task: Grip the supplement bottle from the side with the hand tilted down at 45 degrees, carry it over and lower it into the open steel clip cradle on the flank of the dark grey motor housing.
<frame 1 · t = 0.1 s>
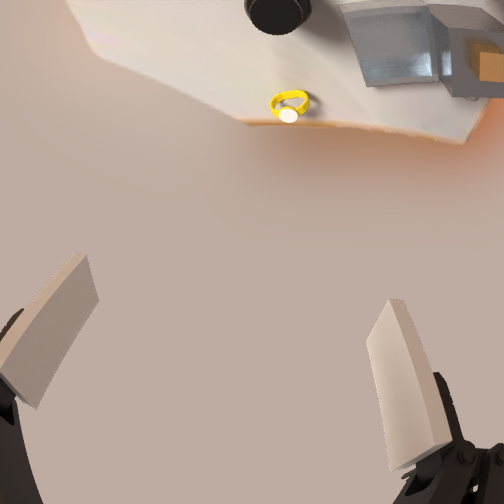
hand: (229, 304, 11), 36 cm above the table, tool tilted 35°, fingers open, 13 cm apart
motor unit: (419, 34, 23), on the table
watch: (290, 93, 39), on the table
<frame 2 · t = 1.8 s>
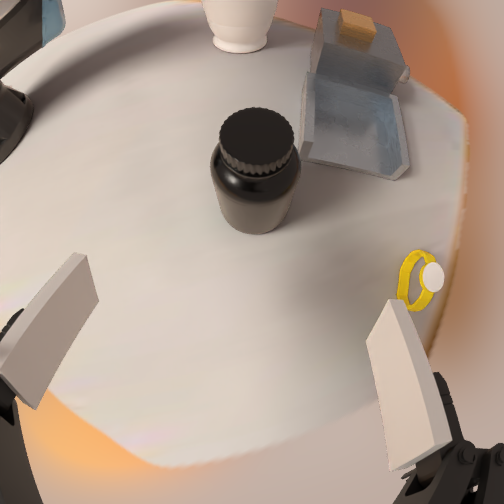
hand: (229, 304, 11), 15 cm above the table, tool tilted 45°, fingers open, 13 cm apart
supplement bottle: (253, 204, 28), on the table
jar: (240, 41, 34), on the table
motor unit: (346, 106, 31), on the table
watch: (402, 283, 27), on the table
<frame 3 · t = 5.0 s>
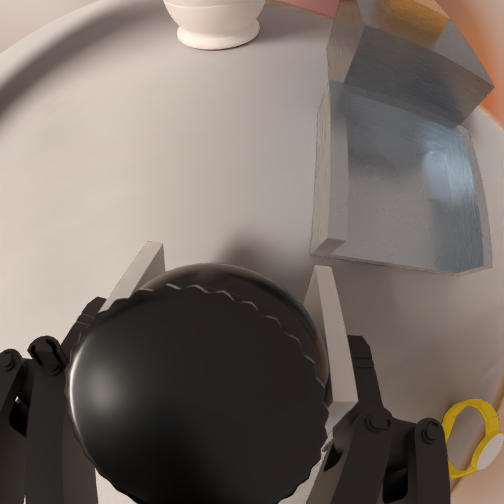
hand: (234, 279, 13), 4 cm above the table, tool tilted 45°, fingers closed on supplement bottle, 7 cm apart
supplement bottle: (228, 346, 16), on the table, touching gripper
jar: (218, 32, 22), on the table
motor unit: (389, 140, 19), on the table
watch: (443, 429, 14), on the table
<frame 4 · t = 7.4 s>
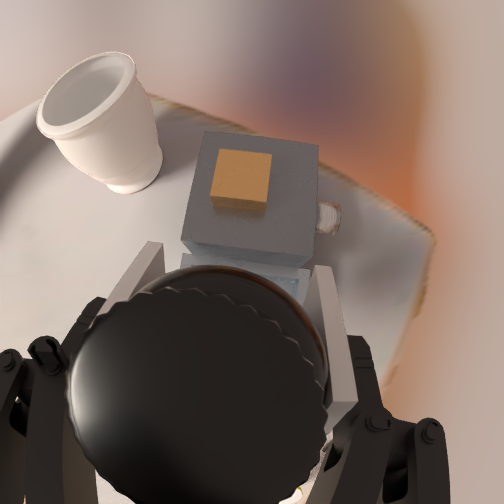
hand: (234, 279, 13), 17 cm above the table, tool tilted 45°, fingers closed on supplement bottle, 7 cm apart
supplement bottle: (228, 347, 16), point 13 cm above the table, touching gripper
jar: (133, 165, 32), on the table
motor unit: (245, 277, 29), on the table
watch: (282, 468, 25), on the table
when the fingers open (5 cm above the table, at t = 9.9 s): supplement bottle drops 1 cm, resting on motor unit.
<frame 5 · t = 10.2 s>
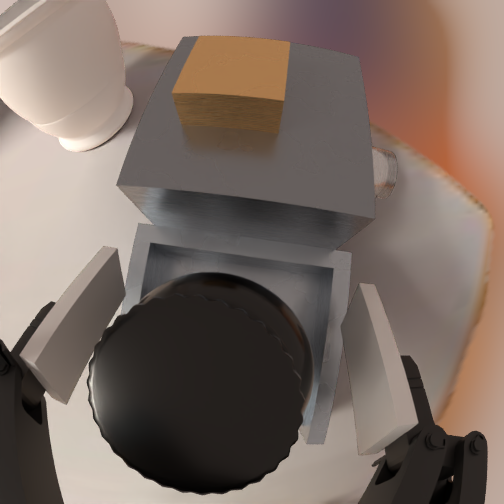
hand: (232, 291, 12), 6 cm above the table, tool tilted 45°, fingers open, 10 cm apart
supplement bottle: (227, 346, 17), point 1 cm above the table, touching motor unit
jar: (96, 118, 21), on the table
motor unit: (241, 267, 18), on the table
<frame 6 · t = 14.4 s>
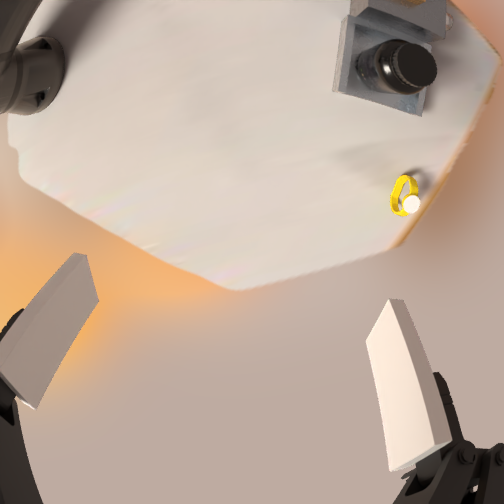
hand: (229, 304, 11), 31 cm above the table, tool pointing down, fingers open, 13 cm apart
supplement bottle: (378, 70, 29), point 1 cm above the table, touching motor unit
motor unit: (382, 39, 26), on the table
watch: (396, 188, 38), on the table
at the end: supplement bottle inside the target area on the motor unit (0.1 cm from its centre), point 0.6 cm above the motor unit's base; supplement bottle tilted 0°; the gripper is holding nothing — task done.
